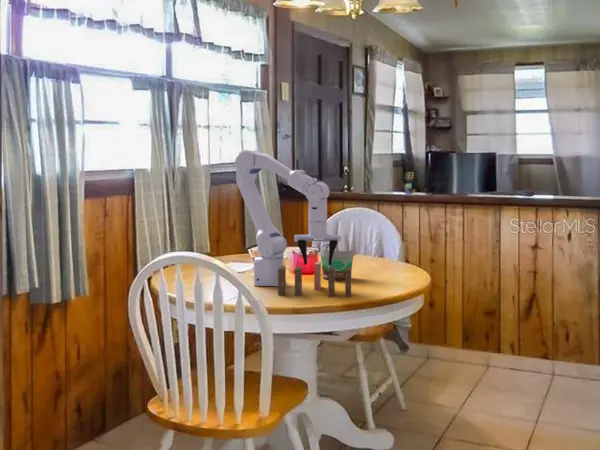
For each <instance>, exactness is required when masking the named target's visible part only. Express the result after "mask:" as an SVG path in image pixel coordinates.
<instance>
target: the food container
mask: <svg viewBox="0 0 600 450" xmlns="http://www.w3.org/2000/svg"><path fill="white" fill-rule="evenodd" d="M318 254H319V257H320V258H321V261H320V262H321V272H322V279H323V280H325V281H328V270H329V267H335V282H345V270H346V268H351V272H352V270H353V269H352V267H353V261H354V260H353V259H354V257H355V256H356V254H355V250H354V248H352V249H351V250H344V251H343V250H334V253H333V257H332V262H331V265H329V250H324V249H323V250H322V249H320V251H319V253H318Z"/></svg>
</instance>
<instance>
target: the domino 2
mask: <svg viewBox="0 0 600 450" xmlns="http://www.w3.org/2000/svg"><path fill="white" fill-rule="evenodd" d="M302 283H303V266H296V267H295V268H294V297H301V295H302V293H303V285H302Z"/></svg>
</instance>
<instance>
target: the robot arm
mask: <svg viewBox="0 0 600 450" xmlns="http://www.w3.org/2000/svg"><path fill="white" fill-rule="evenodd" d="M234 165H235V167H236V168H235V174H236V175H235V182H236V184H237V187H238V189H239V192H240V194H241V196H242V199H243V201H244V204H245V205H246V208H247V210H248V212H249V215H250V218H251V220H252V222H253V224H254V226H255V229H256V231H257V233H256V236H255V239H256V242H257V253H259V255H260V256H256V257H255V258H254V261H253V263H254V264H253V286H255V287H256V286H257V287H258V286H259V287H260V286H261V287H262V286H263V287H264V286H265V287H278V269H279V267H280V266H284V264H285V263H284V259H285V257H284V256H285V255H284V252H285V251H286V250H287V248H288V243H287V240H286V238H285V237H284V236H283V235H282V234H281V232H280V230H279V229H278V228H277V227H276V226H274V225H273V222H272V220H271V218H270V216H269V212H268V211H267V207H266V206H265V204H264V201H263V199H262V196H261V194H260V192H259V190H258V187H257V185H256V182H255V181H256V178H257V176H258V174H259V173H260V172H261V171H262V169H267V170H269V171H271V172H272V173H274V174H276V175H278V176H280V177H281V178H284V179H285V180H286V181H287V185H288V186H289V187H291V188H292V189H294V190H296V191H298V192H299V193H301V194H303V195H304V196H305V198H306V199H307V201H308V234H294V237H293V239H294V240H293V241H294V242H297V246H298V248H299V251H300V253H301V255H302V259H303V265H304V266H305V265H307V264H308V256H307V252H308V251H307V250H308V249H307V246H308V245H307V244H308V243H307V242H328V251H329V265H331V262H332V257H333V253H334V251H336V248H337V246H338V243H341V242H342V234H328V207H327V206H328V198H329V196H330V187H329V186H328V184H327V183H326V182H324V181H318V179H317V178H316V177H311V176H310V175H308V174H306V170H304V169H294V170H292V169H290V168H289V167H287V165H285V164H284V163H281V162H280V161H278V160H277V159H276V158H274V157H273V156H272V155H271V154H268V153H267V152H263V151H262V150H260V149H255V150H253V149H252V150H251V149H250V150H248V149H243V150H240V151H239V152H238V153H237V155H236V157H235V160H234Z"/></svg>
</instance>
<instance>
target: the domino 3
mask: <svg viewBox="0 0 600 450" xmlns="http://www.w3.org/2000/svg"><path fill="white" fill-rule="evenodd" d="M313 269H314V273H313V274H314V277H313V278H314V279H313V280H314V282H313V283H314V284H313V288H314V289H313V290H314V291H320V290H321V286H322V285H321V284H322V281H321V280H322V278H321V276H322V275H321V272H322V261H315V262H314V267H313Z"/></svg>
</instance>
